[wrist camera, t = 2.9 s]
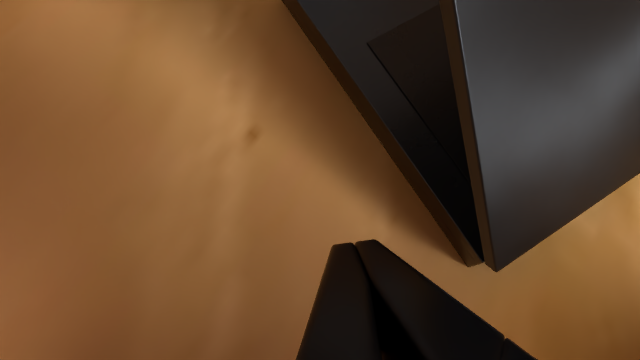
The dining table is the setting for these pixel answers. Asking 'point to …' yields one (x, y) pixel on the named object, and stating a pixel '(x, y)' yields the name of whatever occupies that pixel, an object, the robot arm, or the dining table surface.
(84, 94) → the dining table surface
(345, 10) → the laptop
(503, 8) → the laptop screen
